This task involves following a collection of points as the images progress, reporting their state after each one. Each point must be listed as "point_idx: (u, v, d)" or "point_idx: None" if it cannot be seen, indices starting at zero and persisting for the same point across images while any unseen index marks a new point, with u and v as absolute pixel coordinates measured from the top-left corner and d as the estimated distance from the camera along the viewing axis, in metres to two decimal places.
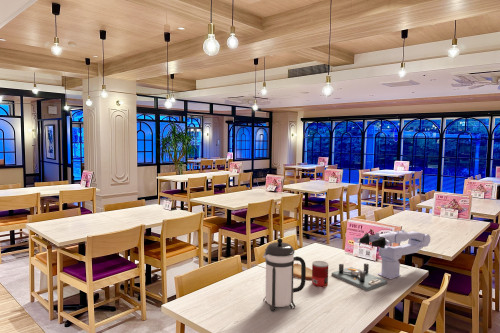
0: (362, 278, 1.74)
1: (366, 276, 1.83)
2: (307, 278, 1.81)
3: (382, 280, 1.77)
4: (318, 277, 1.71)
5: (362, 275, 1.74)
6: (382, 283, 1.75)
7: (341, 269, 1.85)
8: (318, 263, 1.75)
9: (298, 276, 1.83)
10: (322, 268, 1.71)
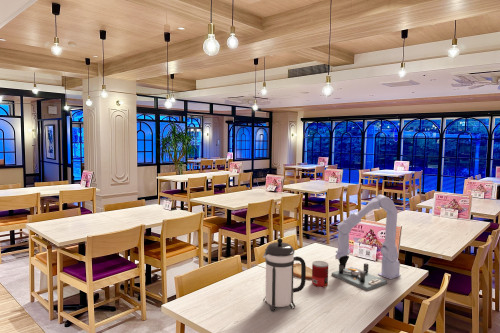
0: (362, 278, 1.74)
1: (366, 276, 1.83)
2: (307, 278, 1.81)
3: (382, 280, 1.77)
4: (318, 277, 1.71)
5: (362, 275, 1.74)
6: (382, 283, 1.75)
7: (341, 269, 1.85)
8: (318, 263, 1.75)
9: (298, 276, 1.84)
10: (322, 268, 1.71)
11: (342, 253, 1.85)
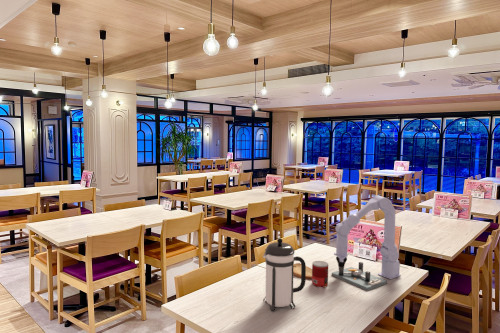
0: (368, 277, 1.75)
1: None
2: (307, 278, 1.81)
3: (382, 280, 1.77)
4: (318, 277, 1.71)
5: (368, 274, 1.75)
6: (382, 283, 1.75)
7: (342, 271, 1.83)
8: (318, 263, 1.75)
9: (298, 275, 1.84)
10: (322, 268, 1.71)
11: (343, 255, 1.82)
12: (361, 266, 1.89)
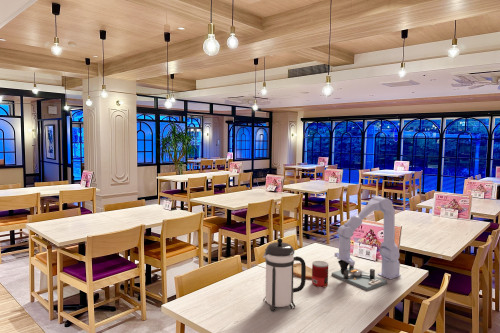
0: (374, 275, 1.79)
1: None
2: (307, 278, 1.82)
3: (382, 280, 1.77)
4: (318, 277, 1.71)
5: (374, 272, 1.78)
6: (382, 283, 1.75)
7: (348, 274, 1.78)
8: (318, 263, 1.75)
9: (299, 275, 1.84)
10: (322, 268, 1.71)
11: (349, 258, 1.78)
12: (353, 265, 1.90)
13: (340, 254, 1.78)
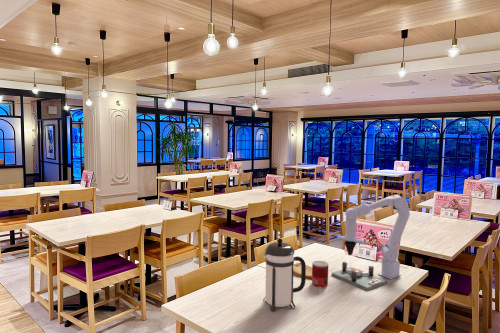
0: None
1: (366, 276, 1.83)
2: (308, 277, 1.82)
3: (382, 280, 1.77)
4: (318, 277, 1.71)
5: None
6: (382, 283, 1.75)
7: None
8: (318, 263, 1.75)
9: (299, 275, 1.85)
10: (322, 268, 1.71)
11: (356, 238, 1.88)
12: (346, 265, 1.89)
13: (349, 236, 1.87)
